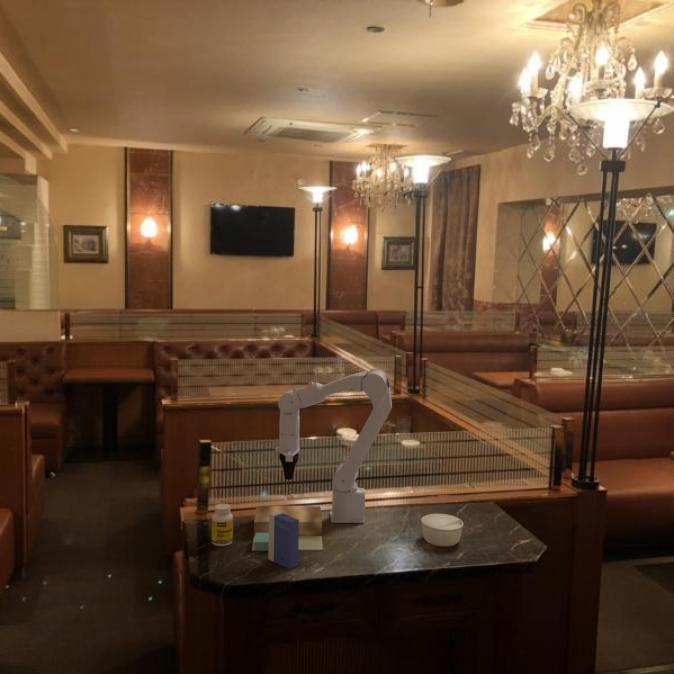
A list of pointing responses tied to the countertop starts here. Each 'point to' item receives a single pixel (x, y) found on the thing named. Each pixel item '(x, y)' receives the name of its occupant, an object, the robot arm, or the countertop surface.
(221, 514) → the supplement bottle
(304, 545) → the mat
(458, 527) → the ramekin
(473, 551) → the countertop surface
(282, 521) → the walkman
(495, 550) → the countertop surface
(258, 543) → the sage green box
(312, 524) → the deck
